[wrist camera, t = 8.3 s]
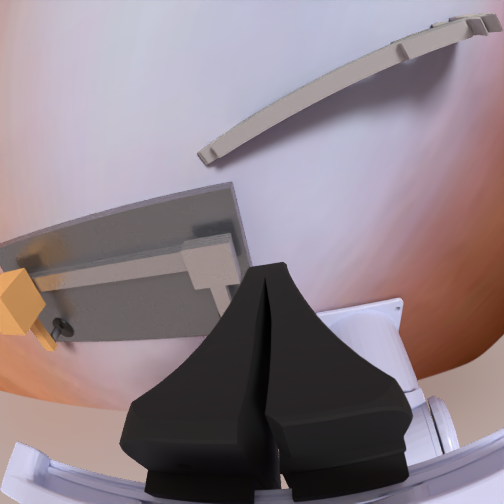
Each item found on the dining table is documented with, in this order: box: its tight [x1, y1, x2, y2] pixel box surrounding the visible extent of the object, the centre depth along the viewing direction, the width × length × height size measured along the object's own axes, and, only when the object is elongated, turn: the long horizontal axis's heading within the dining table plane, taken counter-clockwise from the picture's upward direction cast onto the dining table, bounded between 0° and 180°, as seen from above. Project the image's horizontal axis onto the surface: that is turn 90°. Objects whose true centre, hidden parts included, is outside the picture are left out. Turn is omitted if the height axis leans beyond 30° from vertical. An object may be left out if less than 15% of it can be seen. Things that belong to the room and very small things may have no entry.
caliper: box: [197, 13, 503, 165], centre depth 13 cm, size 20×1×6 cm, turn 124°
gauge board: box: [0, 182, 253, 341], centre depth 22 cm, size 12×24×3 cm, turn 101°
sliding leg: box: [0, 268, 61, 351], centre depth 22 cm, size 8×4×5 cm, turn 11°
